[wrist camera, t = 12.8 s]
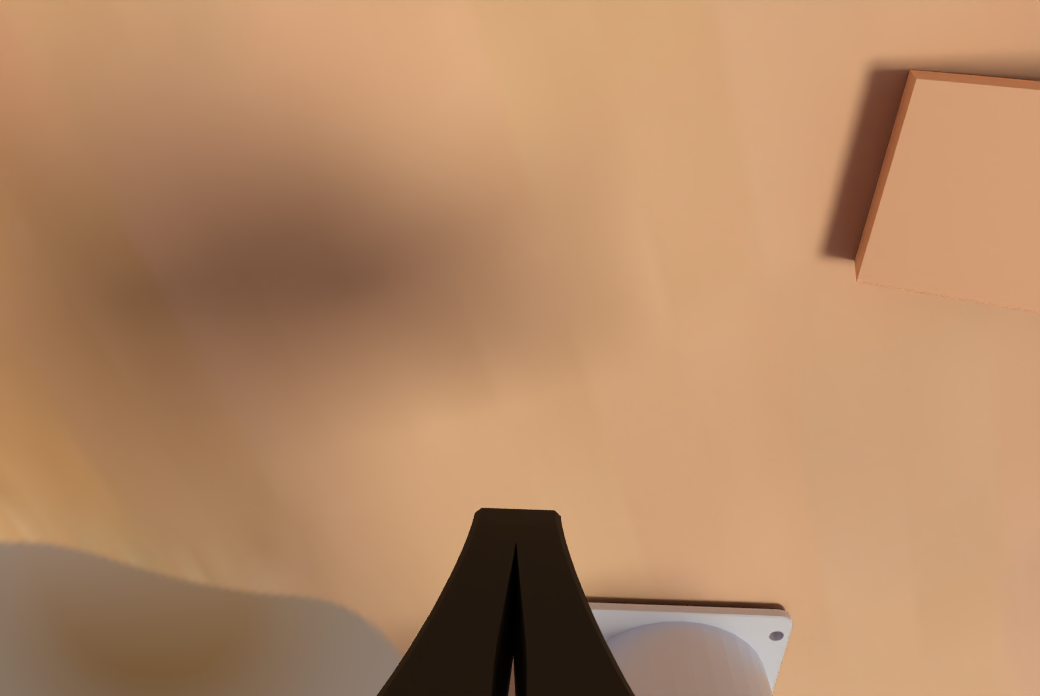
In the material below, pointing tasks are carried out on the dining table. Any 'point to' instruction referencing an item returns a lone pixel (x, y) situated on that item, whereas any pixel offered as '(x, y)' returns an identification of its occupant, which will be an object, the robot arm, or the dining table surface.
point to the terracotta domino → (959, 193)
